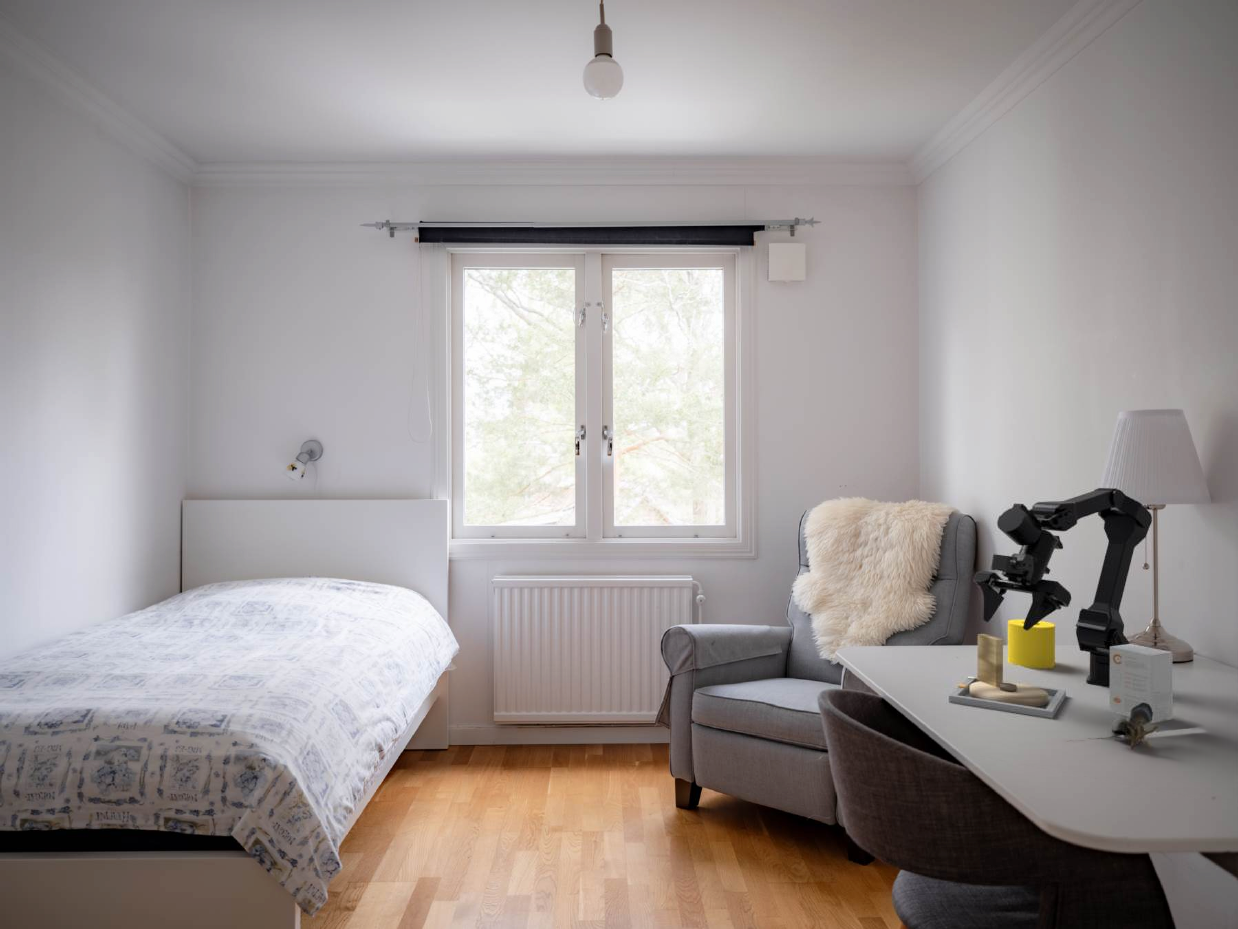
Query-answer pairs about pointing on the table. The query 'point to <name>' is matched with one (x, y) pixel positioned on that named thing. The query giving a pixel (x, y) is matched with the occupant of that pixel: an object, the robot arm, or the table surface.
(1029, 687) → the beige disc with bar
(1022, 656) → the tape roll
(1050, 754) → the table surface
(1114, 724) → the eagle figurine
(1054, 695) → the bezel plate
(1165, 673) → the small box
